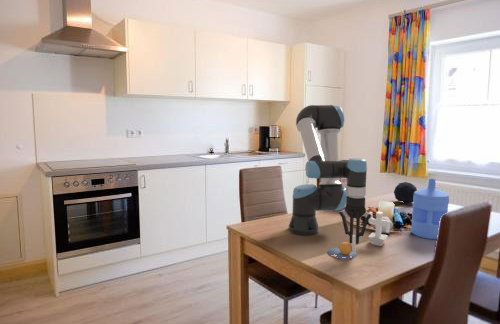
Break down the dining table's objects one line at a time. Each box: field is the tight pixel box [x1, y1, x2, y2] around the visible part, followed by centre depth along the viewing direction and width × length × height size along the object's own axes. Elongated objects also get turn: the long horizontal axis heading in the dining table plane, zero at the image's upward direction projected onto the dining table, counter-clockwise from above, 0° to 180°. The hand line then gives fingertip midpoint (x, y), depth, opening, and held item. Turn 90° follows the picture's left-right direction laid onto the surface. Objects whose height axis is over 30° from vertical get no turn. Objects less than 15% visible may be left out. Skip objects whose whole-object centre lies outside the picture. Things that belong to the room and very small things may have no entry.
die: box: [373, 216, 394, 234], centre depth 177 cm, size 8×9×10 cm
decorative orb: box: [393, 181, 417, 205], centre depth 236 cm, size 14×15×15 cm
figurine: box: [368, 211, 391, 247], centre depth 161 cm, size 7×9×15 cm
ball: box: [338, 241, 352, 255], centre depth 149 cm, size 6×6×6 cm
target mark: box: [327, 247, 357, 260], centre depth 150 cm, size 12×12×1 cm
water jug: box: [410, 178, 450, 240], centre depth 173 cm, size 16×16×28 cm
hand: (353, 250), depth 148 cm, fingers closed
